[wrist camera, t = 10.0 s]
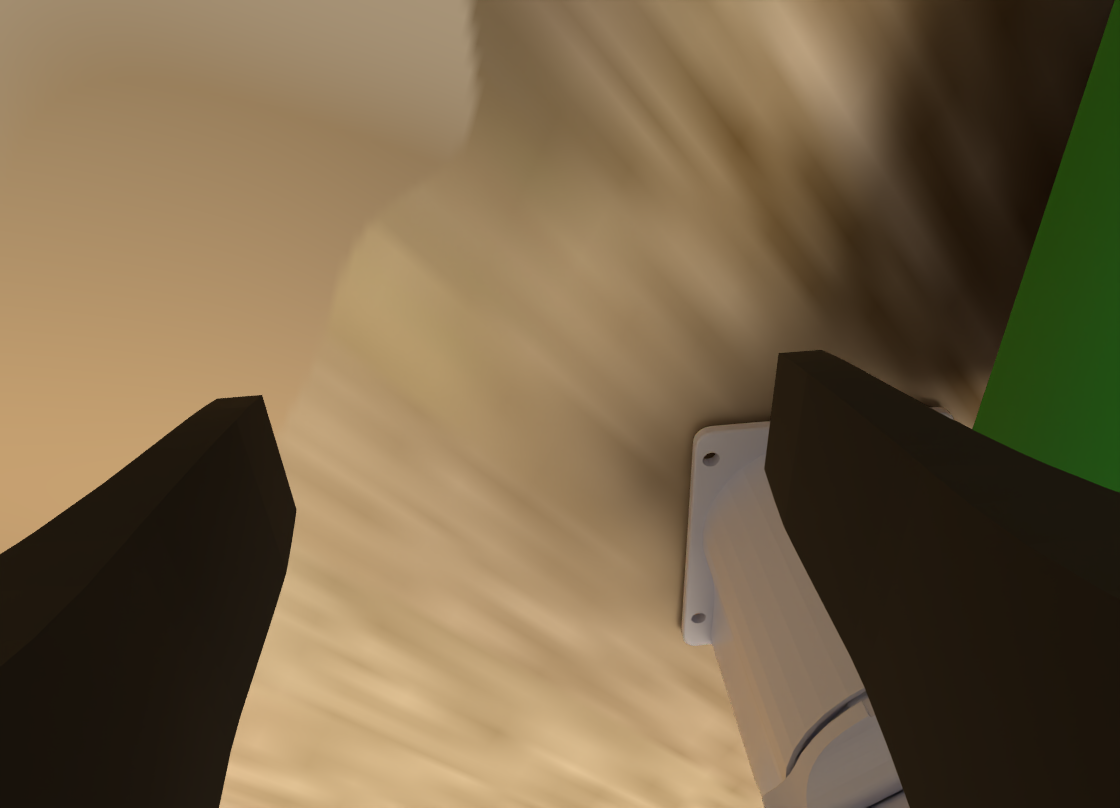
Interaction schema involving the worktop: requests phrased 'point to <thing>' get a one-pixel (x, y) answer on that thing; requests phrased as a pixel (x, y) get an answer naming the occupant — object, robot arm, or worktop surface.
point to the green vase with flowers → (1070, 303)
